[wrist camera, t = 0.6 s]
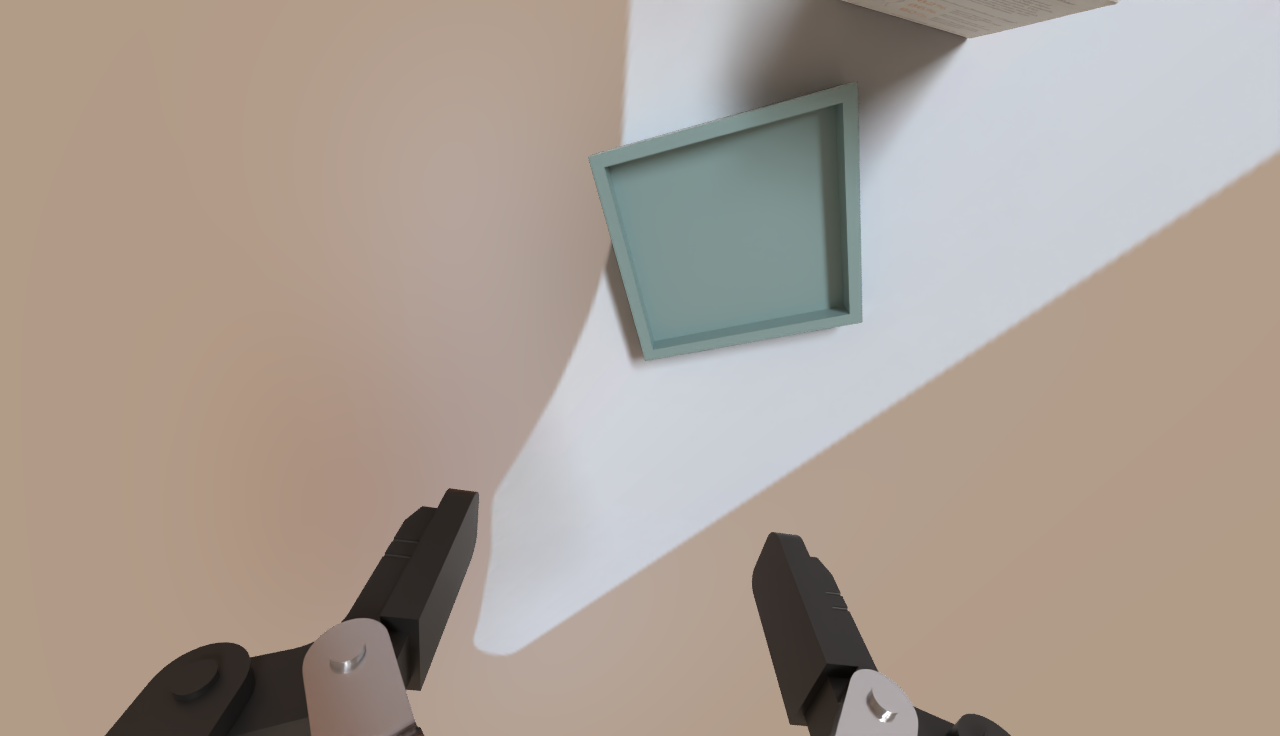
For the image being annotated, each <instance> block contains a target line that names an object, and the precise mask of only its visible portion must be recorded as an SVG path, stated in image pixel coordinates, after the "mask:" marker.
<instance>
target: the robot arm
mask: <svg viewBox="0 0 1280 736" xmlns="http://www.w3.org/2000/svg"><path fill="white" fill-rule="evenodd" d="M478 504H479V494H478V492H472V491H465V490H457V489H450V488H449V489H448V490H447V491H446V493H445V495H444V497H443V498H442V500H441V502H440V504H439V506H438V508H431V507H423V506H422V507H421V508H420V509H418V510H417V511H416V512H415V513H413V514H412V515H411V516H410V517H409V518H407V519H406V520H405V521H404V522H403V524H402V526H401V527H400V529H399V531H398V532H397V534H396V536H395V537H394V540H393V542H391V544H390V546H389V547H388V549H387V550H386V552H385V556H384V557H382V559H381V560H380V562H379V564H378V565H377V567H376V569H375V570H374V572H373V574H372V576H371V577H370V579H369V580H368V582H367V584H366V585H365V587H364V589H363V590H362V592H361V594H360V595H359V597H358V599H357V600H356V602H355V603H354V605H353V607H352V609H351V610H350V612H349V613H348V615H347V616H346V618H345V619H344V620H343V621H342V622H341V623H340V624H337V625H335V626H333V627H332V628H330V629H329V630H327V631H326V632H325V633H324V634H322V635H321V636H320V637H319V638H318V639H317V640H316V641H315V642H312V643H310V644H308V645H305V646H302V647H298V648H295V649H290V650H285V651H280V652H276V653H270V654H265V655H260V656H255V657H249V655H248V652H247V651H246V650H245V649H244V648H243V647H242V646H240V645H237V644H234V643H215V644H209V645H206V646H202V647H199V648H197V649H195V650H192V651H190V652H188V653H186V654H184V655H182V656H180V657H179V658H177V659H175V660H174V661H172V662H171V663H170V664H168V665H167V666H166V667H164V668H163V669H162V670H161V671H160V672H159V673H158V674H157V675H156V676H155V677H154V678H153V679H152V680H151V681H150V682H149V683H148V685H147V686H146V687H145V688H144V689H143V691H142V692H141V693H140V694H139V695H138V697H137V698H136V699H135V700H134V701H133V703H132V704H131V705H130V706H129V707H128V709H127V710H126V711H125V712H124V713H123V715H122V716H121V717H120V718H119V720H118V721H117V722H116V723H115V724H114V726H113V727H112V728H111V729H110V730H109V731H108V733H107V734H106V735H105V736H424V734H423V732H422V730H421V728H420V727H417V725H416V722H415V720H414V717H413V713H412V710H411V707H410V703H409V700H408V697H407V694H406V689H407V690H418V691H421V688H422V686H423V683H424V681H425V678H426V675H427V673H428V670H429V668H430V665H431V662H432V660H433V657H434V655H435V652H436V649H437V647H438V644H439V641H440V639H441V636H442V634H443V631H444V629H445V626H446V623H447V620H448V618H449V615H450V613H451V610H452V608H453V605H454V603H455V600H456V597H457V595H458V592H459V589H460V587H461V584H462V581H463V579H464V577H465V574H466V571H467V569H468V566H469V563H470V561H471V558H472V555H473V552H474V547H475V543H476V537H477V523H478ZM752 577H753V578H752V589H753V594H754V598H755V601H756V605H757V608H758V612H759V616H760V619H761V623H762V626H763V630H764V633H765V637H766V640H767V644H768V648H769V651H770V655H771V659H772V662H773V665H774V669H775V673H776V676H777V680H778V683H779V687H780V690H781V694H782V698H783V701H784V704H785V708H786V712H787V716H788V719H789V723H790V725H801V726H808V729H809V732H810V736H1010V735H1009V734H1008V733H1007V732H1006V731H1005V730H1004V729H1002V728H1001V727H1000V726H999V725H997V724H996V723H994V722H993V721H991V720H989V719H987V718H985V717H983V716H980V715H976V714H966V715H964V716H962V717H961V718H960V719H959V721H958V722H957V723H956V724H955V725H954V724H952V723H950V722H948V721H945V720H943V719H941V718H938V717H936V716H934V715H931V714H929V713H927V712H925V711H922V710H920V709H918V708H916V707H914V706H913V704H912V703H911V701H910V699H909V698H908V696H907V695H906V694H905V693H904V691H903V690H902V689H901V688H900V687H899V686H898V685H897V684H896V683H895V682H894V681H892V680H891V679H889V678H888V677H887V676H885V675H883V674H881V673H879V672H878V670H877V668H876V666H875V664H874V662H873V660H872V658H871V656H870V654H869V651H868V649H867V647H866V645H865V643H864V641H863V639H862V637H861V635H860V633H859V631H858V628H857V626H856V624H855V622H854V620H853V618H852V616H851V614H850V612H849V611H848V610H847V605H846V603H845V601H844V599H843V597H842V596H840V591H839V589H838V587H837V584H836V582H835V580H834V578H833V576H832V574H831V573H830V572H829V571H828V570H827V568H826V567H825V566H824V565H823V564H822V563H821V562H820V560H819V559H818V558H816V557H810V556H809V553H808V551H807V549H806V547H805V545H804V542H803V540H802V539H801V537H800V536H798V535H790V534H783V533H775V532H772V533H770V534H769V535H768V537H767V540H766V542H765V544H764V547H763V549H762V552H761V554H760V556H759V559H758V561H757V564H756V566H755V568H754V571H753V576H752Z"/></svg>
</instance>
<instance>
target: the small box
mask: <svg viewBox="0 0 1280 736" xmlns="http://www.w3.org/2000/svg"><path fill="white" fill-rule="evenodd" d="M841 1H845V2H848V3H852V4H855V5H858V6H862V7H865V8H869V9H872V10H875V11H879V12H882V13H886V14H889V15H892V16H896V17H900V18H903V19H906V20H909V21H913V22H916V23H919V24H923V25H926V26H930V27H933V28H937V29H940V30H944V31H947V32H950V33H954V34H957V35H960V36H963V37H966V38H974V37H978V36H983V35H987V34H992V33H996V32H1000V31H1004V30H1008V29H1013V28H1017V27H1021V26H1026V25H1030V24H1034V23H1037V22H1042V21H1046V20H1050V19H1054V18H1058V17H1062V16H1066V15H1070V14H1074V13H1079V12H1083V11H1087V10H1092V9H1096V8H1100V7H1104V6H1108V5H1113V4H1117V3H1118V2H1119V1H1120V0H841Z"/></svg>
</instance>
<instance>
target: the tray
mask: <svg viewBox="0 0 1280 736" xmlns="http://www.w3.org/2000/svg"><path fill="white" fill-rule="evenodd" d="M588 158H589V162H590V165H591V169H592V172H593V176H594V180H595V183H596V187H597V190H598V194H599V198H600V201H601V205H602V208H603V212H604V216H605V219H606V222H607V226H608V230H609V233H610V237H611V241H612V244H613V248H614V251H615V255H616V258H617V262H618V265H619V269H620V273H621V276H622V280H623V283H624V287H625V290H626V294H627V298H628V301H629V305H630V308H631V312H632V315H633V319H634V323H635V326H636V330H637V333H638V337H639V340H640V344H641V348H642V351H643V355H644V358H645V361H647V360H653V359H659V358H664V357H670V356H676V355H681V354H687V353H692V352H698V351H704V350H709V349H715V348H721V347H726V346H732V345H737V344H743V343H749V342H754V341H760V340H766V339H771V338H777V337H782V336H788V335H794V334H799V333H805V332H811V331H816V330H822V329H827V328H833V327H839V326H844V325H850V324H856V323H861V322H862V277H861V224H860V172H859V120H858V82H853V83H846V84H843V85H839V86H836V87H832V88H828V89H825V90H821V91H818V92H814V93H811V94H807V95H803V96H800V97H796V98H793V99H789V100H785V101H782V102H778V103H775V104H771V105H768V106H764V107H760V108H757V109H753V110H750V111H746V112H742V113H739V114H735V115H732V116H728V117H725V118H721V119H717V120H714V121H710V122H707V123H703V124H700V125H696V126H692V127H689V128H685V129H682V130H678V131H674V132H671V133H667V134H664V135H660V136H657V137H653V138H649V139H646V140H642V141H639V142H635V143H632V144H628V145H624V146H621V147H618V148H614V149H610V150H606V151H603V152H599V153H596V154H593V155H591V156H589V157H588Z"/></svg>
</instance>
